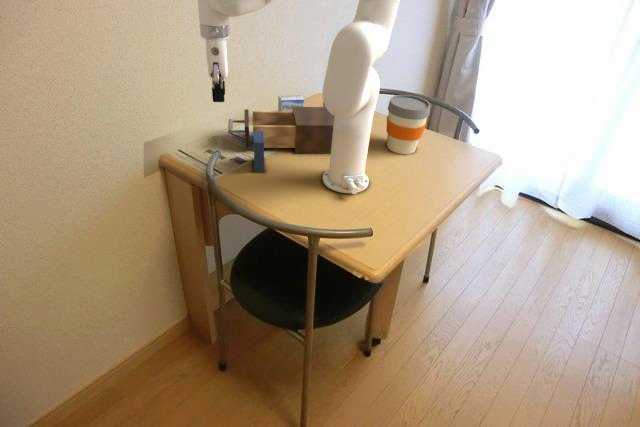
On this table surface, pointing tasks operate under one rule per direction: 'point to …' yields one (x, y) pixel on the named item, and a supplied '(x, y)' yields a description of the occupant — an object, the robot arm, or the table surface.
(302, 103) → the medicine box
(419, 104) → the reusable coffee cup
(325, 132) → the cabinet
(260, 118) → the drawer
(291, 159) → the table surface
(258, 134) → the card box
